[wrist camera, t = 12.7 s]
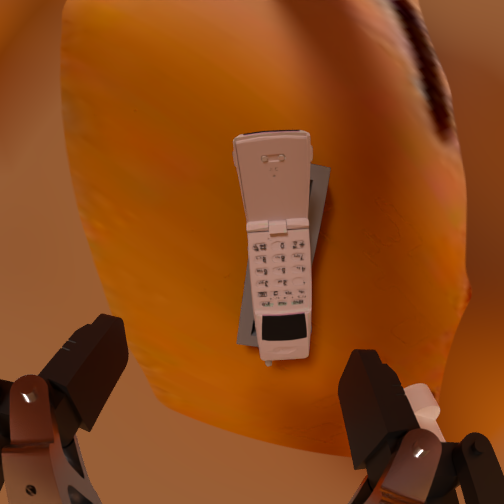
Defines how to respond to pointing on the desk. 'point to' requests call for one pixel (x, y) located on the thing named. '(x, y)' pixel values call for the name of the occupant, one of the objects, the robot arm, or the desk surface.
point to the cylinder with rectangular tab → (424, 408)
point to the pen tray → (315, 212)
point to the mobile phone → (278, 238)
